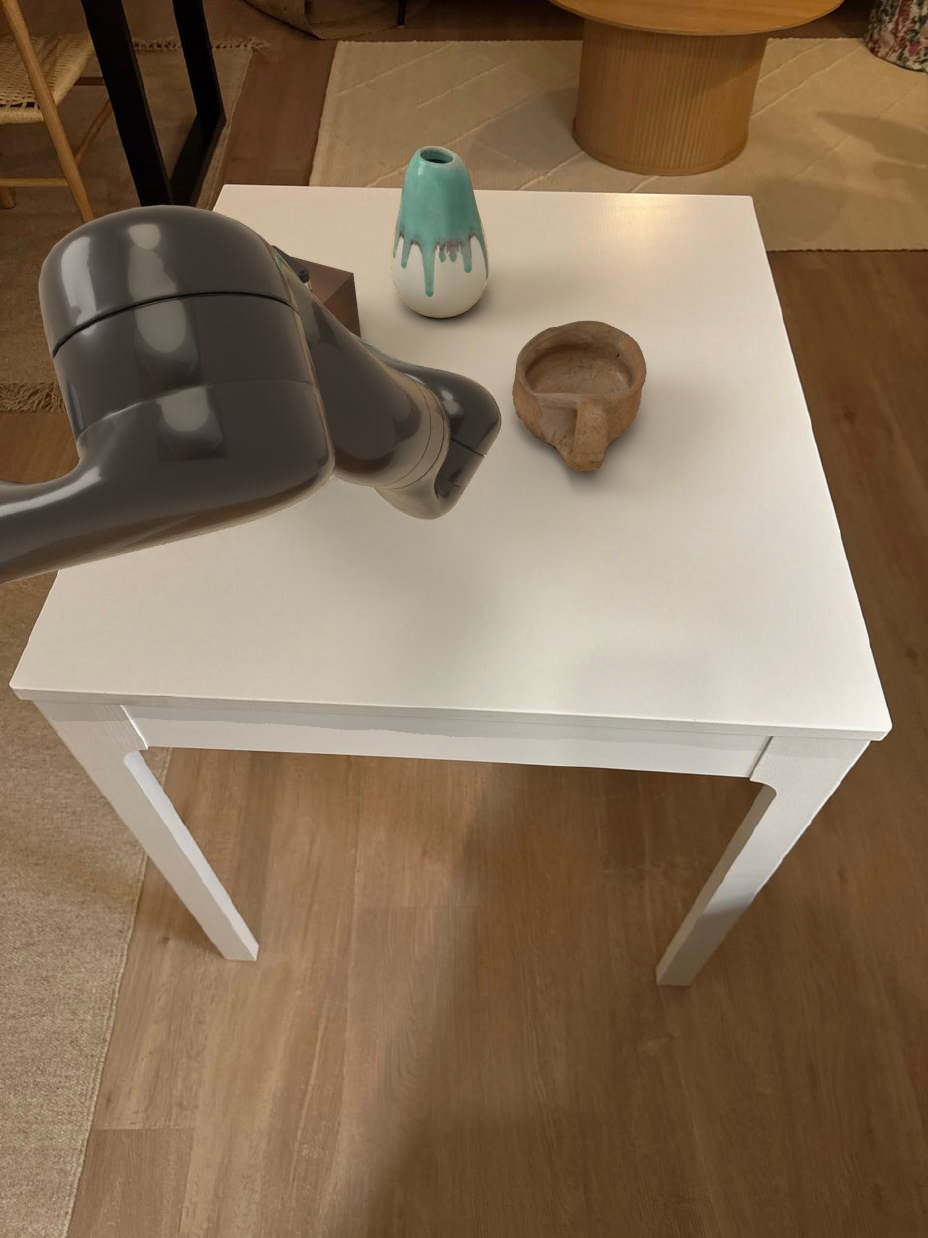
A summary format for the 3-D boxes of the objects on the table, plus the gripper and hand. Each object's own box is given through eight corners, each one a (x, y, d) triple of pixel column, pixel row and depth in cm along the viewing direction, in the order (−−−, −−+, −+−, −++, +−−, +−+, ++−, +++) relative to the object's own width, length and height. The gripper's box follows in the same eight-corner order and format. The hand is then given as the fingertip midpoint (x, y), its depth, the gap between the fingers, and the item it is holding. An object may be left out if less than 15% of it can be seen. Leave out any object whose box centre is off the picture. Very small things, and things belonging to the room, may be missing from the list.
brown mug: (690, 466, 89) (681, 393, 81) (557, 518, 90) (536, 451, 82) (627, 357, 100) (614, 284, 92) (509, 406, 101) (486, 337, 93)
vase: (494, 278, 112) (497, 129, 98) (481, 333, 105) (482, 182, 91) (403, 272, 113) (393, 123, 99) (385, 326, 106) (371, 175, 92)
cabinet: (294, 416, 97) (280, 347, 90) (197, 385, 100) (176, 316, 93) (362, 341, 105) (353, 272, 98) (269, 314, 108) (255, 246, 101)
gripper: (355, 268, 71) (235, 196, 78) (206, 346, 65) (91, 261, 72) (364, 348, 77) (252, 274, 84) (229, 426, 71) (120, 340, 78)
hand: (177, 268), depth 78 cm, fingers open, 8 cm apart
